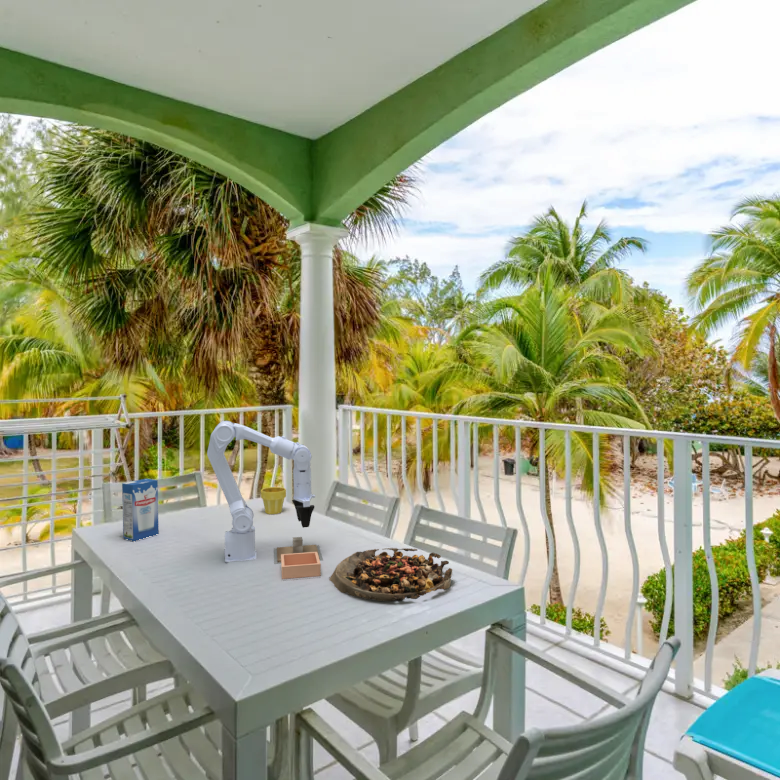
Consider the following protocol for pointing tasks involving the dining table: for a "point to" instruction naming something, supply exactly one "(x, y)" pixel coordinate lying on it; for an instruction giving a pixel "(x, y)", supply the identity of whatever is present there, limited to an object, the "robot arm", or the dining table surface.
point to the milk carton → (140, 509)
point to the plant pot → (273, 499)
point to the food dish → (390, 575)
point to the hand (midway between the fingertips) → (303, 523)
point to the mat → (280, 562)
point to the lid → (296, 548)
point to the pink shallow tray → (300, 565)
